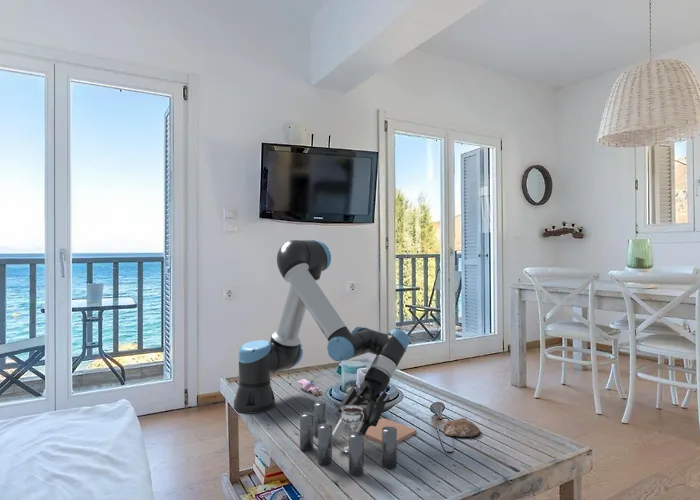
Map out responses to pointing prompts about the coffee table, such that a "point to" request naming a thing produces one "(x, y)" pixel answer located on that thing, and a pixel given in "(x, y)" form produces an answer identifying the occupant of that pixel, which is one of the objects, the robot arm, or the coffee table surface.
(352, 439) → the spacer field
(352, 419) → the wineglass
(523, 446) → the coffee table surface
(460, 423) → the shell
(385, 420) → the terracotta tile
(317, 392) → the rabbit figure
